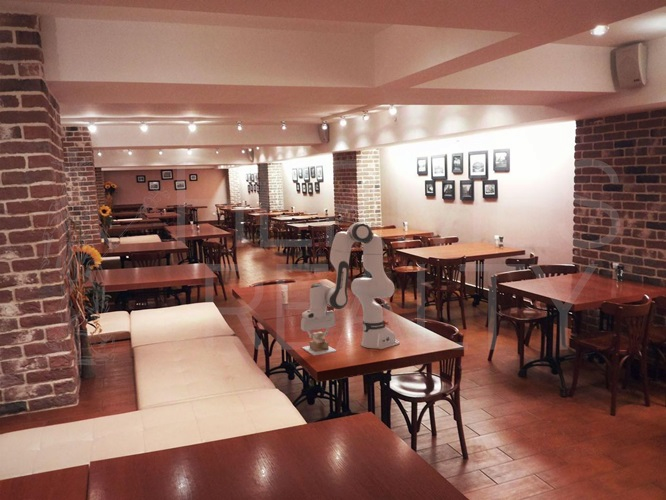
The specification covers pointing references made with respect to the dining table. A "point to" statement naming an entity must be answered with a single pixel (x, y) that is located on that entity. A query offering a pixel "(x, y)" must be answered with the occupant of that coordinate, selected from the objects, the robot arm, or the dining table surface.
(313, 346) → the walnut base
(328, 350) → the white flat slab
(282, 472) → the dining table surface
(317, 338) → the ash cube
